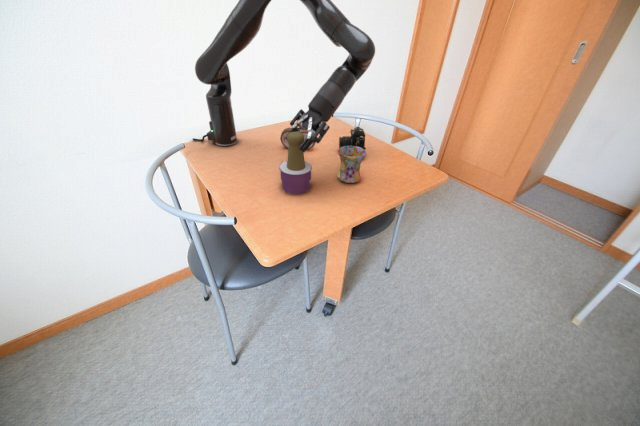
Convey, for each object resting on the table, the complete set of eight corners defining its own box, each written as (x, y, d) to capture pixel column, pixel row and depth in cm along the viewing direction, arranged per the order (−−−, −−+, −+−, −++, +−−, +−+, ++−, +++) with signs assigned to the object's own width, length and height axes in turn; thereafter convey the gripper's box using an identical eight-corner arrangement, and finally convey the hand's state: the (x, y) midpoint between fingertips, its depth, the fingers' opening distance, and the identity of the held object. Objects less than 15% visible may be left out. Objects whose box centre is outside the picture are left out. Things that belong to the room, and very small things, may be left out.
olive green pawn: (308, 164, 89) (308, 131, 82) (301, 172, 84) (300, 138, 77) (291, 160, 90) (290, 128, 83) (283, 168, 86) (281, 134, 79)
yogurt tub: (277, 193, 88) (275, 173, 83) (284, 177, 96) (283, 158, 91) (309, 196, 87) (309, 176, 82) (313, 180, 95) (314, 160, 91)
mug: (365, 183, 95) (370, 155, 88) (341, 186, 92) (343, 158, 86) (353, 168, 104) (356, 141, 98) (330, 170, 102) (332, 143, 95)
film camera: (331, 145, 121) (332, 122, 115) (356, 142, 124) (359, 120, 118) (346, 162, 107) (348, 138, 101) (374, 159, 111) (378, 135, 105)
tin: (316, 148, 117) (316, 129, 112) (315, 151, 115) (315, 131, 110) (281, 145, 118) (280, 126, 113) (280, 148, 116) (279, 129, 111)
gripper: (306, 87, 82) (275, 131, 84) (334, 98, 73) (298, 147, 75) (320, 103, 88) (290, 143, 90) (347, 115, 79) (314, 160, 81)
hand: (294, 145), depth 82 cm, fingers open, 8 cm apart
